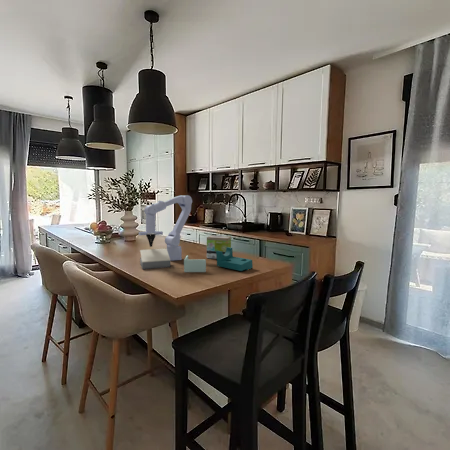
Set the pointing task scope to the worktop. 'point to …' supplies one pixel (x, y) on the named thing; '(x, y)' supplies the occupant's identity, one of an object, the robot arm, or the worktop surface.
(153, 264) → the storage box
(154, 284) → the worktop surface
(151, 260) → the lid
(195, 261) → the l-shaped corner panel
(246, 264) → the teal stepped block
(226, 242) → the tea box
